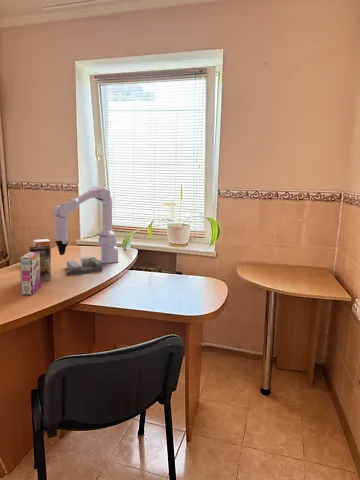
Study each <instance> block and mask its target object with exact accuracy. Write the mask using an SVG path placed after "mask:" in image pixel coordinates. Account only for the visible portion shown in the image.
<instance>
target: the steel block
mask: <svg viewBox="0 0 360 480" xmlns="http://www.w3.org/2000/svg"><path fill="white" fill-rule="evenodd" d="M90 257H91V256H89V255H87V256H79V265H80V266H81V268H82V269H85V268H92V267H91V258H90Z"/></svg>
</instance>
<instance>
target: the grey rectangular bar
mask: <svg viewBox="0 0 360 480" xmlns="http://www.w3.org/2000/svg"><path fill="white" fill-rule="evenodd" d="M66 268H67V269H68V270H74V271H75V270H82V268H81V266H80V263H78V262H77V261H76V260H75V259H74V260H66Z"/></svg>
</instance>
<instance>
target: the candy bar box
mask: <svg viewBox="0 0 360 480" xmlns="http://www.w3.org/2000/svg"><path fill="white" fill-rule="evenodd" d="M19 270H20V292H21V294H20V295H21V296H33V295H34V294H35V293H37V291H38V290H39V289H40V288H41V287H42V285H41V284H42V283H41V282H42V281H41V279H40V252H29V251H28V252H27V253H25V254H24V255H22V256H20V257H19Z"/></svg>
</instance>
